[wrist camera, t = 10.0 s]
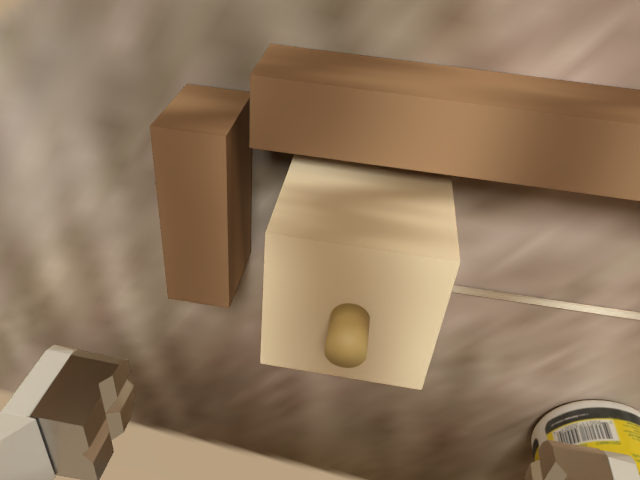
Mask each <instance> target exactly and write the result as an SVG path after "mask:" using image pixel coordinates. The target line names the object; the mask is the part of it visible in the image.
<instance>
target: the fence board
mask: <svg viewBox="0 0 640 480" xmlns="http://www.w3.org/2000/svg"><path fill="white" fill-rule="evenodd" d="M150 132H151V142H152V151H153V161H154V170H155V180H156V189H157V199H158V208H159V217H160V227H161V236H162V246H163V255H164V265H165V274H166V284H167V293H168V299H175V300H181V301H188V302H194V303H201V304H207V305H214V306H220V307H227V308H229V307H230V305H231V302H232V299H233V297H234V294H235V292H236V289H237V286H238V284H239V281H240V278H241V276H242V273H243V271H244V268H245V265H246V263H247V260H248V258H249V255H250V252H251V193H252V148H254V149H262V150H269V151H276V152H284V153H291V154H298V155H306V156H313V157H320V158H328V159H335V160H342V161H350V162H357V163H364V164H372V165H379V166H386V167H394V168H401V169H408V170H416V171H423V172H431V173H438V174H445V175H453V176H460V177H467V178H475V179H482V180H489V181H497V182H504V183H511V184H519V185H526V186H533V187H541V188H548V189H555V190H563V191H570V192H577V193H585V194H592V195H599V196H607V197H614V198H621V199H629V200H636V201H640V90H635V89H627V88H619V87H611V86H603V85H595V84H587V83H579V82H571V81H563V80H555V79H547V78H539V77H531V76H523V75H515V74H507V73H499V72H491V71H483V70H475V69H467V68H459V67H451V66H443V65H435V64H427V63H419V62H411V61H403V60H395V59H387V58H379V57H371V56H363V55H355V54H347V53H339V52H331V51H323V50H315V49H307V48H299V47H291V46H283V45H275V44H270V45H269V47H268V48H267V50H266V52H265V53H264V55H263V56H262V58H261V59H260V61H259V62H258V64H257V65H256V67H255V68H254V70H253V71H252V73H251V74H250V92H245V91H237V90H230V89H222V88H214V87H207V86H199V85H191V84H187V85H186V86H185V87H184V88H183V89H182V90H181V91H180V93H179V94H178V95H177V96H176V97H175V98H174V99H173V101H172V102H171V103H170V104H169V105H168V106H167V107H166V108H165V110H164V111H163V112H162V113H161V114H160V115H159V116H158V118H157V119H156V120H155V121H154V122H153V123H152V124H151V126H150ZM451 292H455V293H462V294H468V295H475V296H482V297H489V298H495V299H502V300H509V301H515V302H522V303H529V304H536V305H542V306H549V307H556V308H563V309H569V310H576V311H583V312H590V313H596V314H603V315H610V316H617V317H623V318H630V319H637V320H640V313H638V312H632V311H625V310H618V309H611V308H605V307H598V306H591V305H584V304H577V303H571V302H564V301H557V300H550V299H544V298H537V297H530V296H523V295H516V294H510V293H503V292H496V291H489V290H483V289H476V288H469V287H462V286H455V285H453V288H452V291H451Z"/></svg>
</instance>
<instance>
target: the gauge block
mask: <svg viewBox="0 0 640 480" xmlns="http://www.w3.org/2000/svg"><path fill="white" fill-rule="evenodd" d="M459 265H460V255H459V246H458V236H457V226H456V217H455V207H454V198H453V188H452V178H451V175H445V174H438V173H431V172H423V171H416V170H408V169H401V168H394V167H386V166H379V165H372V164H364V163H357V162H350V161H342V160H335V159H328V158H320V157H313V156H306V155H298V154H294V156H293V159H292V162H291V164H290V167H289V170H288V173H287V175H286V178H285V181H284V183H283V186H282V189H281V192H280V194H279V197H278V200H277V202H276V205H275V208H274V211H273V213H272V216H271V219H270V222H269V224H268V227H267V230H266V232H265V254H264V280H263V306H262V332H261V358H260V363H261V364H267V365H273V366H279V367H285V368H291V369H298V370H304V371H310V372H316V373H322V374H328V375H334V376H340V377H346V378H352V379H358V380H364V381H370V382H376V383H382V384H388V385H394V386H400V387H406V388H412V389H419V390H422V387H423V384H424V381H425V377H426V374H427V371H428V367H429V364H430V361H431V357H432V354H433V351H434V348H435V344H436V341H437V338H438V334H439V331H440V328H441V324H442V321H443V318H444V315H445V311H446V308H447V305H448V301H449V298H450V295H451V291H452V288H453V285H454V282H455V278H456V275H457V272H458V268H459Z"/></svg>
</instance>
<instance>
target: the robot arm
mask: <svg viewBox="0 0 640 480" xmlns="http://www.w3.org/2000/svg"><path fill="white" fill-rule="evenodd" d="M130 373H131V367H130V363H129V360H124V359H120V358H115V357H110V356H106V355H101V354H96V353H92V352H87V351H82V350H78V349H73V348H68V347H63V346H58V345H53V346H52V347H50V348H49V349H47V350H46V351H45V352H44V354H43V355H42V356H41V358H40V359H39V360H38V362H37V363H36V365H35V366H34V367H33V369H32V370H31V371H30V373H29V374H28V375H27V377H26V378H25V379H24V381H23V382H22V384H21V385H20V386H19V388H18V389H17V390H16V392H15V393H14V394H13V396H12V397H11V398H10V400H9V401H8V403H7V404H6V405H5V407H4V408H3V409H2V411H0V480H53V479H55V477H56V476H55V475H59V476H65V477H71V478H76V479H82V480H99V479H100V477H101V475H102V474H103V472H104V470H105V468H106V466H107V464H108V462H109V460H110V458H111V456H112V454H113V452H114V451H113V446H112V441H111V440H112V439H114V438H115V437H117V436H118V435H120V434H121V433H123V432H124V430H125V428H126V426H127V424H128V422H129V420H130V417H131V414H132V410H133V407H134V401H135V390H134V386H133V385H132V384H131V383H130V382H129V381H128V377H129V375H130ZM538 453H539V460H537V461H535V462H532V463H530V465H529V467H528V469H527V471H526V473H525V478H524V480H640V475H639V472H638V469H637V466H636V462H635V461H634V460H633V458H632V457H631V456H629V455H626V454H621V453H615V452H609V451H604V450H600V449H597V448H592V447H586V446H580V445H575V444H569V443H563V442H558V441H552V440H546V441H544V442H542V444H541V446H540V447H539V449H538Z"/></svg>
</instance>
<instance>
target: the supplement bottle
mask: <svg viewBox="0 0 640 480" xmlns="http://www.w3.org/2000/svg"><path fill="white" fill-rule="evenodd" d="M546 440H552V441H558V442H563V443H569V444H575V445H580V446H586V447H592V448H597V449H600V450H604V451H609V452H615V453H621V454H626V455H629V456H631V457H632V458H633V460H634V461H635V462H636V466H637V469H638V472H639V475H640V412H638V411H637V410H635V409H633V408H631V407H629V406H627V405H624V404H620V403H616V402H611V401H604V400H584V401H577V402H572V403H568V404H565V405H562V406H560V407H558V408H556V409H554V410H552V411H550V412H549V413H547V414H546V415H545V416H544V417H543V418H542V419H541V420H540V421H539V422H538V423H537V425H536V427H535V428H534V430H533V433H532V438H531V445H532V451H533V456H534V460H535V461H537V460H539V453H538V449H539V447H540V446H541V444H542V442H544V441H546Z"/></svg>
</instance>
